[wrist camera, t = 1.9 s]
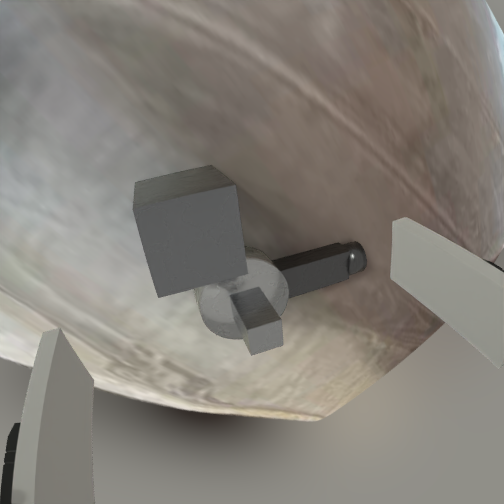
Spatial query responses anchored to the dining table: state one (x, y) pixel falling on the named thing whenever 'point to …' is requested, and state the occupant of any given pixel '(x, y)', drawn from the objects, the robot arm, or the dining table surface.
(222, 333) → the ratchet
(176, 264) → the dark grey cube
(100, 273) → the dining table surface
